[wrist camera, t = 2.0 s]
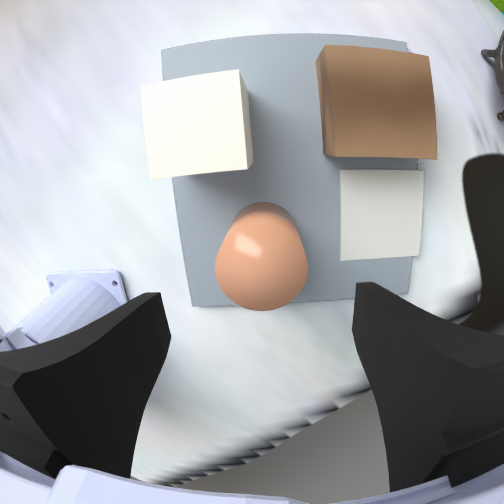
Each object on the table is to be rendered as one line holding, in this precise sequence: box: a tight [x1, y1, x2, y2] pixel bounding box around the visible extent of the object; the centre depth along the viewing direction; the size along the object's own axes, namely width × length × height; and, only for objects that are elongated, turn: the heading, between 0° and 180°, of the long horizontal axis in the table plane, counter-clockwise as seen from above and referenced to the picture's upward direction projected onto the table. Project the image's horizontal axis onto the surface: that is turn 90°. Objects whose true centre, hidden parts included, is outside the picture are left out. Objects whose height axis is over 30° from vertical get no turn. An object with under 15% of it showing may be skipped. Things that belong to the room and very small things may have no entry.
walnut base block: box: [315, 45, 437, 159], centre depth 15 cm, size 6×6×4 cm
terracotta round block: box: [215, 202, 308, 311], centre depth 17 cm, size 4×4×6 cm
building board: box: [161, 34, 424, 306], centre depth 18 cm, size 18×16×1 cm
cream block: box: [141, 69, 254, 180], centre depth 15 cm, size 4×4×6 cm
